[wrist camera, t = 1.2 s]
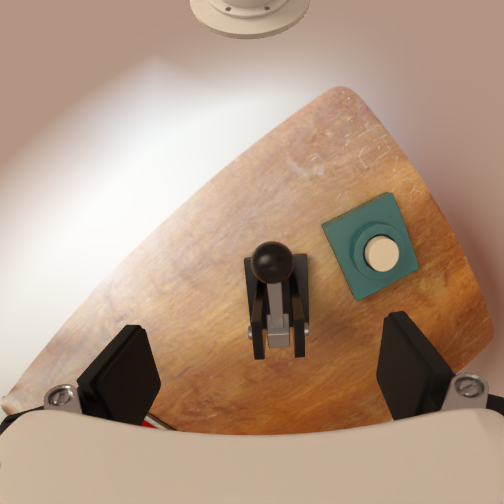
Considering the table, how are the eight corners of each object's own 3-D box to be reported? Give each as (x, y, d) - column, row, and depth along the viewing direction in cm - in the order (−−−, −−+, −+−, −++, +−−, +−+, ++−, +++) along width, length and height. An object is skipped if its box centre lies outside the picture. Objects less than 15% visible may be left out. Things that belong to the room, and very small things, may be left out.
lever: (249, 234, 22) (247, 265, 20) (291, 230, 22) (295, 261, 20) (263, 326, 31) (263, 352, 29) (293, 324, 31) (295, 350, 28)
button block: (321, 225, 37) (326, 230, 33) (386, 192, 35) (398, 193, 31) (352, 295, 39) (360, 307, 35) (412, 263, 37) (425, 272, 33)
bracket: (244, 257, 39) (230, 294, 26) (306, 253, 38) (320, 288, 26) (251, 325, 41) (242, 381, 29) (308, 321, 40) (319, 377, 28)
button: (359, 244, 33) (363, 248, 32) (387, 230, 33) (392, 232, 31) (371, 272, 34) (375, 277, 33) (397, 258, 34) (403, 262, 32)
